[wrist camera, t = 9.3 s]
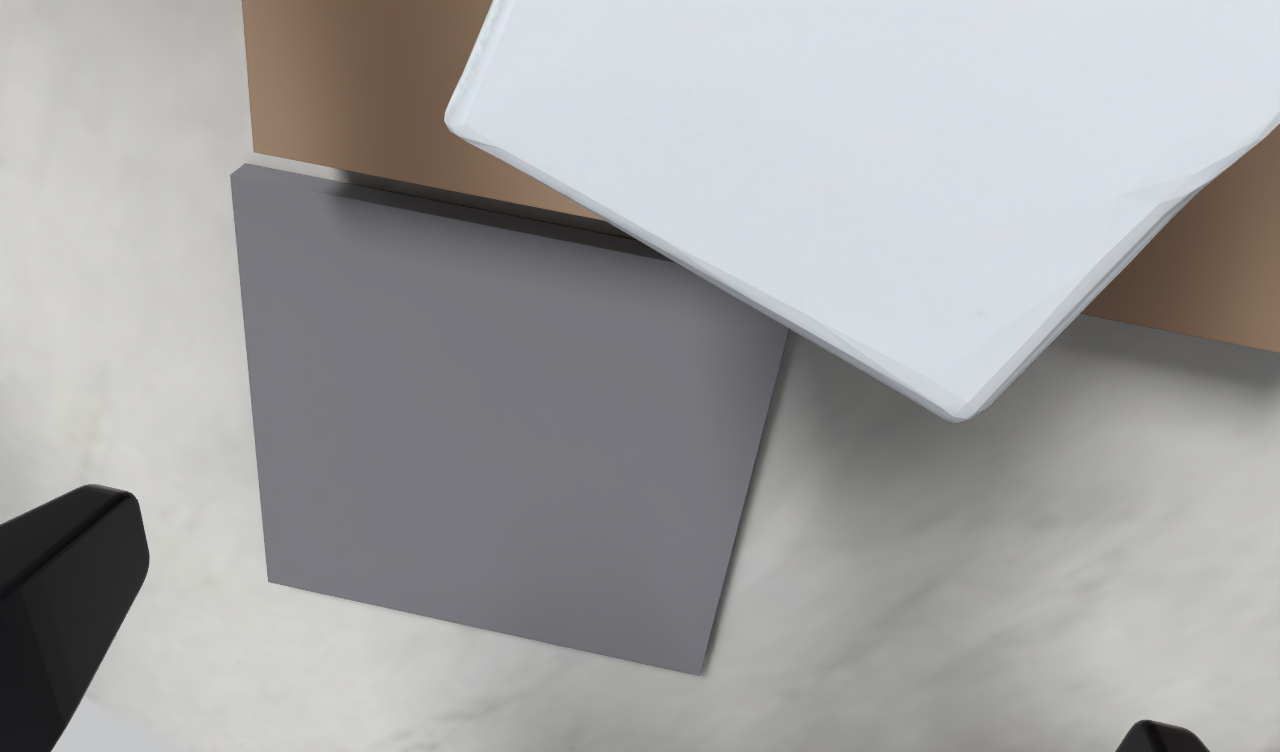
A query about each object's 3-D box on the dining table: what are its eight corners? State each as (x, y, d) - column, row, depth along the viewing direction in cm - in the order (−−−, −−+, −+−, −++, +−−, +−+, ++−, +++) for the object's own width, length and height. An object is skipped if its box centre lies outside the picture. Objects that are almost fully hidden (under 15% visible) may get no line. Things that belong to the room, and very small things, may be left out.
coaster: (801, 272, 20) (799, 287, 19) (701, 657, 26) (699, 676, 25) (244, 163, 20) (230, 174, 20) (279, 565, 26) (268, 582, 26)
